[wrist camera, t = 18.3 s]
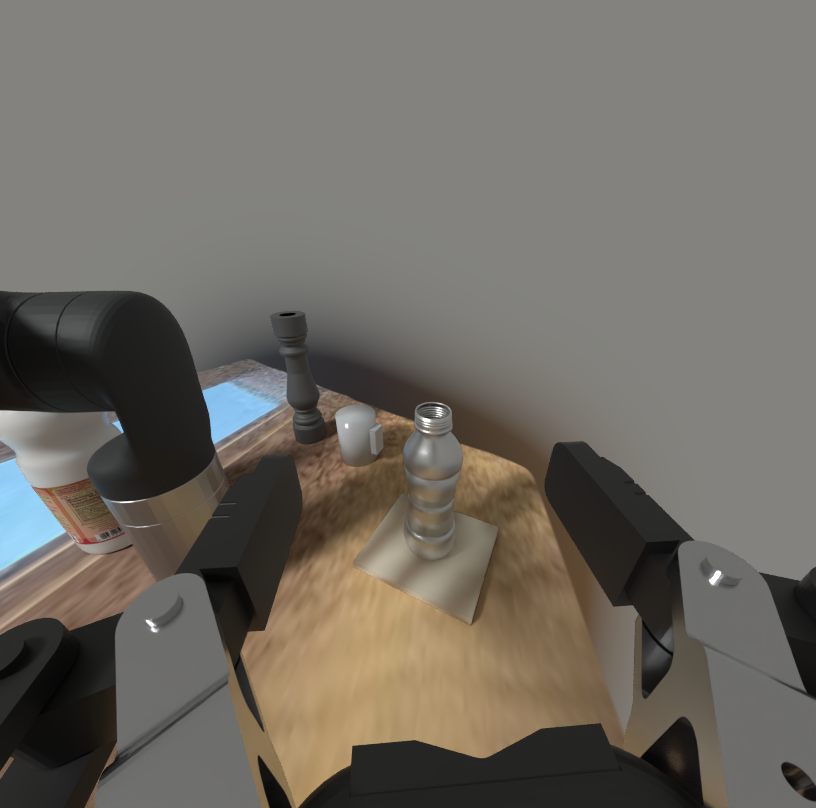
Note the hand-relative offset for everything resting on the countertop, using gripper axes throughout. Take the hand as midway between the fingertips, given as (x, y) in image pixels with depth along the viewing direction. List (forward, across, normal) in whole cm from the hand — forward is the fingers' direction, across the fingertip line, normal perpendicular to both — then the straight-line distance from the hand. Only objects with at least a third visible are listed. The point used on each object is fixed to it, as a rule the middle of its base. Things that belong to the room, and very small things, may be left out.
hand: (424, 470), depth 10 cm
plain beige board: (+19, -3, +30) cm, 36 cm away
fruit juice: (+26, +40, +30) cm, 57 cm away
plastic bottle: (+19, -3, +29) cm, 35 cm away
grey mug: (+41, +8, +30) cm, 51 cm away
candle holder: (+48, +18, +30) cm, 60 cm away
